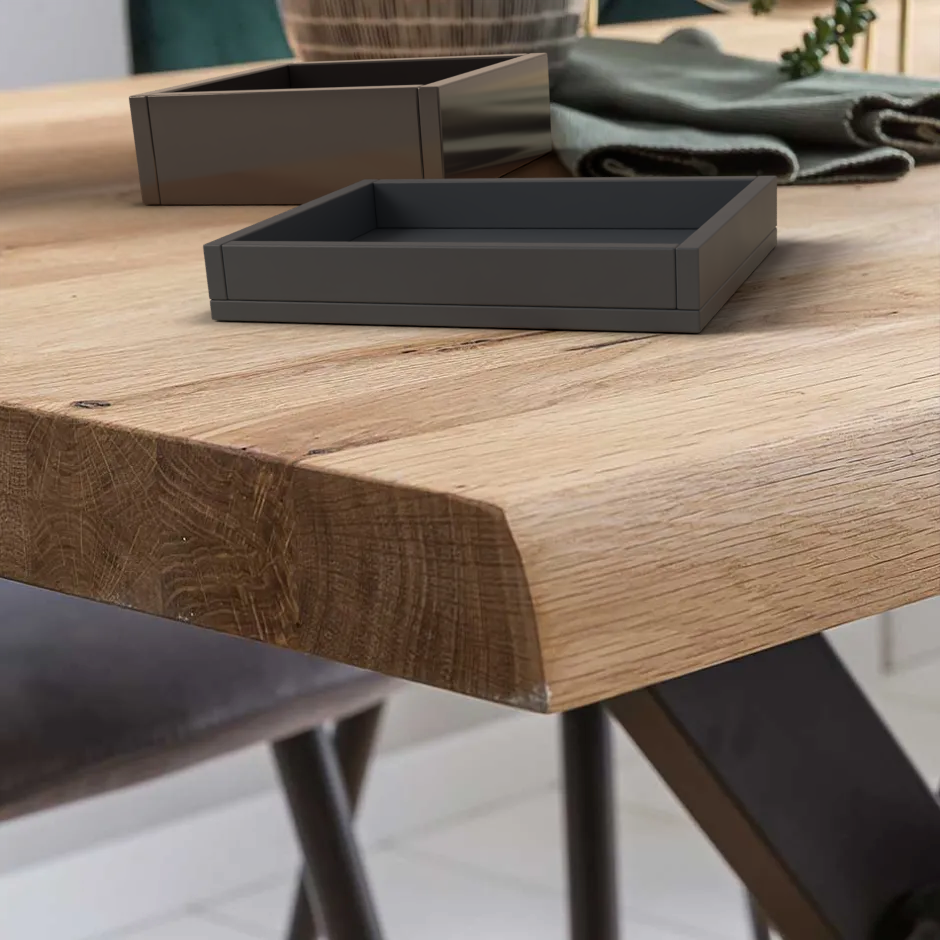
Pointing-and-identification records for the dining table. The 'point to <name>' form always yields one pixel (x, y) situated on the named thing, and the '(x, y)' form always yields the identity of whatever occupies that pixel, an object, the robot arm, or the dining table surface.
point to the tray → (502, 253)
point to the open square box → (339, 127)
